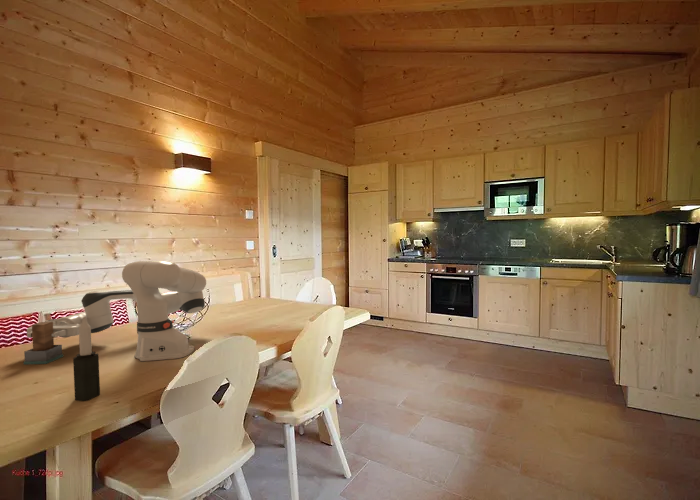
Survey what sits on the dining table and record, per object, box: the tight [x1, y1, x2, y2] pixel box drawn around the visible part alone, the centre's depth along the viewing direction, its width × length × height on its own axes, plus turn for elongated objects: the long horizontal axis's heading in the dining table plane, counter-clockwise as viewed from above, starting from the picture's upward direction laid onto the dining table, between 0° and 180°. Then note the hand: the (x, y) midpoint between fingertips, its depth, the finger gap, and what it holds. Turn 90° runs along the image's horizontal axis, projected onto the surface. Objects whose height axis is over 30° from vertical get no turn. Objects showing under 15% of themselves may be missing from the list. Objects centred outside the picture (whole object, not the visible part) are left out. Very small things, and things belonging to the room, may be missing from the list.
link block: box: [31, 321, 55, 351], centre depth 142 cm, size 4×4×14 cm
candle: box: [72, 316, 101, 402], centre depth 108 cm, size 5×5×25 cm
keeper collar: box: [23, 344, 64, 365], centre depth 142 cm, size 9×9×5 cm
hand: (41, 335), depth 141 cm, fingers open, 8 cm apart
